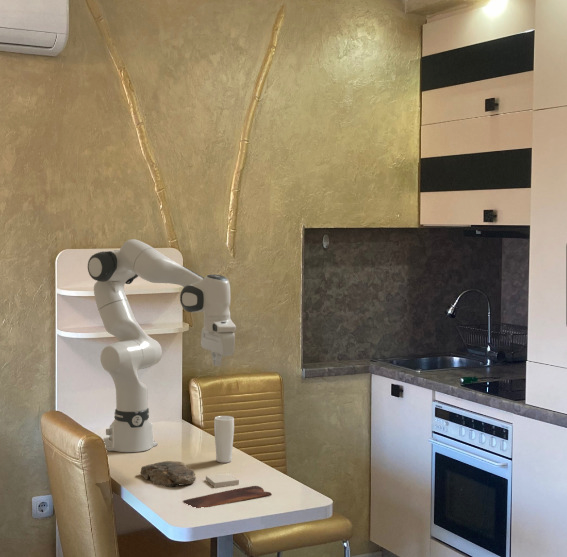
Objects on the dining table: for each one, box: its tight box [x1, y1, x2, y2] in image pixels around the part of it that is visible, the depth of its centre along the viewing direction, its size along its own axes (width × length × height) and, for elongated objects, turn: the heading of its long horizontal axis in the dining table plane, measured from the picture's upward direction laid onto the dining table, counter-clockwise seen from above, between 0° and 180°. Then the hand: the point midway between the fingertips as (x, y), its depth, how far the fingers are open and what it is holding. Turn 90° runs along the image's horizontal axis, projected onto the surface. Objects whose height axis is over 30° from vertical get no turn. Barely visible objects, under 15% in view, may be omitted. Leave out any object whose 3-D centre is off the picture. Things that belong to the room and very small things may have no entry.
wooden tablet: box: [182, 485, 272, 509], centre depth 260 cm, size 26×2×10 cm
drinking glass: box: [213, 415, 235, 464], centre depth 298 cm, size 7×7×15 cm
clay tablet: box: [140, 460, 197, 487], centre depth 277 cm, size 14×5×20 cm
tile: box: [205, 472, 240, 488], centre depth 275 cm, size 2×8×8 cm
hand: (216, 365), depth 289 cm, fingers closed
